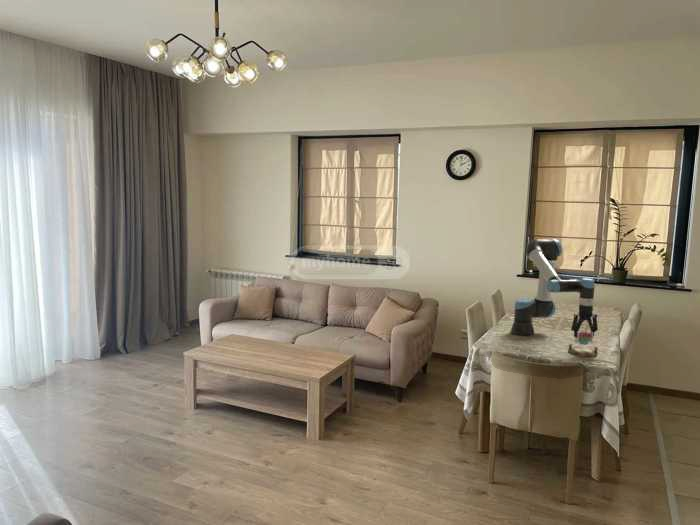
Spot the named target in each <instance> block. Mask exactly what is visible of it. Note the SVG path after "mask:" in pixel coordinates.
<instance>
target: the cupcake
mask: <svg viewBox="0 0 700 525" xmlns="http://www.w3.org/2000/svg"><path fill="white" fill-rule="evenodd" d="M588 327H589V324H586V326H585V330H584V331H578V332H579V343H578V344H579V345H589V343H590V342H589V340H590V339H591V338H592V336H591V334H589V332H587V331H588Z"/></svg>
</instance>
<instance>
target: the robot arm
mask: <svg viewBox="0 0 700 525" xmlns="http://www.w3.org/2000/svg"><path fill="white" fill-rule="evenodd" d="M525 253H526V256H527V258H528V259H529V261H532V262H533V263H534V265H535V266H536V268H537V269H538V272H539V274H538V275H539V276H538V285H537V293H536V294H537V295H535V296H534V300H533V299H532V298H519V299H516V300H515V303H514V318H513V322H512V326H511V328H510V333H511V334H512V333H513V334H512V335H515V334H516V336H520V335H522V337H530V335H532V336H535V329H534V326H533V319H540V318H541V319H548V318H551V317H553V316H554V315H555V312H556V308H557V307H556V303H555V301H553V300H554V299H553V298H552V297H551V296H552V293H554V294H555V293H556V294H557V293H579V303H578V304H579V305H578V313H573V319H572V320H573V321H572V323H571V324H572V325H571V329H570V330H571V331H573V337H574V343H576V344H580V343H579V332H580V331H579V330H580V328H581V326H582V324H583V322H586V321H587V325H588V327H589V332H588V333H589V334H591V336H592V338H591V339H590V340H589V342H588V343H592V344H593V341H594V337H595V333H596V332H598V329H599V328H598V320H597V319H598V314H596V313H593V312H594V311H593V310H594V297H595V296H594V295H595V279H593V278H586V277H585V278H581V279H578V278H570V279H561V277H560V276H559V275H558V274H557V271H555V263H556V262H557V261H558V257H561V256H562V254H563V247H562V243H561V242H560V241H559V240H558V239H555V238H535V239H532V240H530V242H529V243H528V244H527V245H526V248H525Z"/></svg>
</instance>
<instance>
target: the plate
mask: <svg viewBox="0 0 700 525" xmlns="http://www.w3.org/2000/svg"><path fill="white" fill-rule="evenodd" d="M598 348H599V347H598V346H594V349H593V348H589V347H583V346H573V344H571V343H569V344H568V349H567V350H568V351H567V352H568V354H571V355H573V356H577V357H581V358H582V357H583V358H595V357H597V356H598Z"/></svg>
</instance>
